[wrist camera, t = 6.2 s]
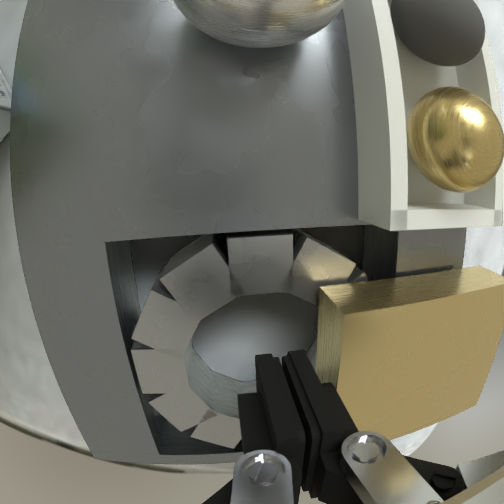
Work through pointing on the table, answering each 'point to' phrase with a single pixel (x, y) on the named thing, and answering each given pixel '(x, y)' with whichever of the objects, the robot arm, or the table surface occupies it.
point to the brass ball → (455, 139)
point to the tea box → (4, 106)
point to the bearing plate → (179, 207)
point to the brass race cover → (410, 346)
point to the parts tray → (395, 123)
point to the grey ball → (439, 29)
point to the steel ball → (260, 19)
